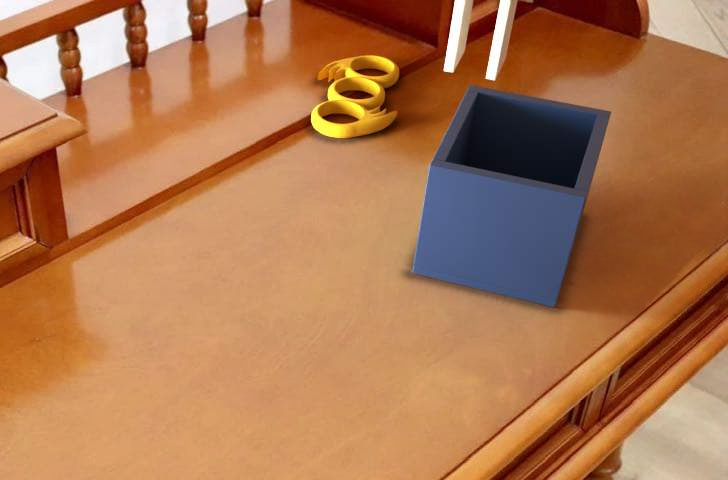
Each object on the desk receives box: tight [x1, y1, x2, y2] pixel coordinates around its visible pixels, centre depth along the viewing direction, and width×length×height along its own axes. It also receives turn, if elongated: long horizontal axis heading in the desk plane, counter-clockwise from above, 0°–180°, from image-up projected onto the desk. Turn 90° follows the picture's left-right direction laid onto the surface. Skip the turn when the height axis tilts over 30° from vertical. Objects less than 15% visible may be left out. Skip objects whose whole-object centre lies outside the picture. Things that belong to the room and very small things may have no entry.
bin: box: [412, 84, 612, 308], centre depth 93 cm, size 14×12×11 cm
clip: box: [443, 0, 518, 81], centre depth 86 cm, size 4×4×10 cm
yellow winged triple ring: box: [310, 54, 400, 139], centre depth 115 cm, size 17×2×10 cm
